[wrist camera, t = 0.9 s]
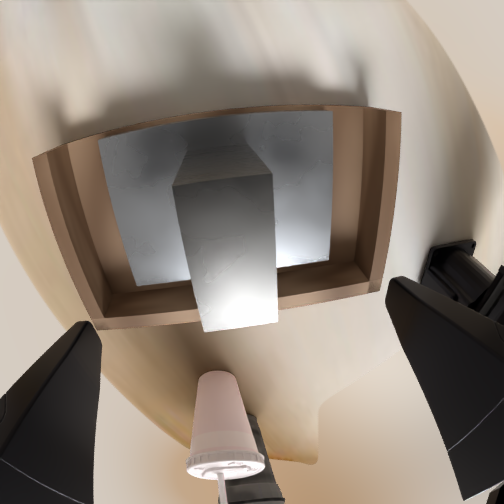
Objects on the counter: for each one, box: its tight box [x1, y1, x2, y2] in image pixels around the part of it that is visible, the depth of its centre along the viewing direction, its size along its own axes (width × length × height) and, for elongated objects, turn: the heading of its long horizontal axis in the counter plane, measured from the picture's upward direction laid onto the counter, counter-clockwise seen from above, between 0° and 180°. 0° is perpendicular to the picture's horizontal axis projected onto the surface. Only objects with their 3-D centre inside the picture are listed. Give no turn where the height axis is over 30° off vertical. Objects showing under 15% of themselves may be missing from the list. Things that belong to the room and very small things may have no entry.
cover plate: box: [98, 110, 333, 332], centre depth 13 cm, size 12×9×7 cm
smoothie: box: [186, 371, 265, 504], centre depth 20 cm, size 6×6×14 cm
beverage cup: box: [218, 414, 285, 504], centre depth 23 cm, size 7×7×20 cm
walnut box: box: [32, 105, 401, 330], centre depth 16 cm, size 19×12×4 cm, turn 94°
